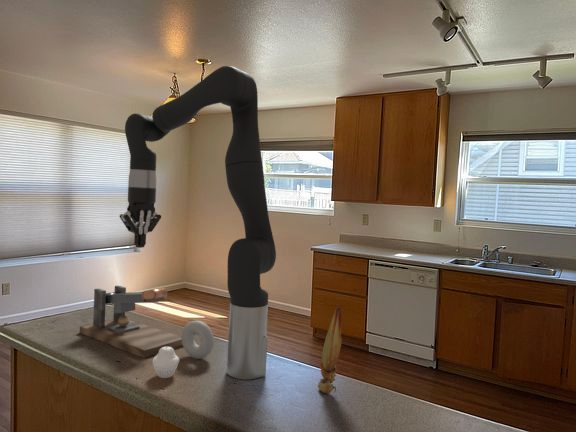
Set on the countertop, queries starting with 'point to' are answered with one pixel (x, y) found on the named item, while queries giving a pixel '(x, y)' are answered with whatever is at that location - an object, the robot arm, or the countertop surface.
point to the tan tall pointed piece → (331, 353)
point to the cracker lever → (134, 299)
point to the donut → (204, 335)
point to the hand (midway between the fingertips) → (140, 247)
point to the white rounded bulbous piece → (165, 362)
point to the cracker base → (126, 330)
